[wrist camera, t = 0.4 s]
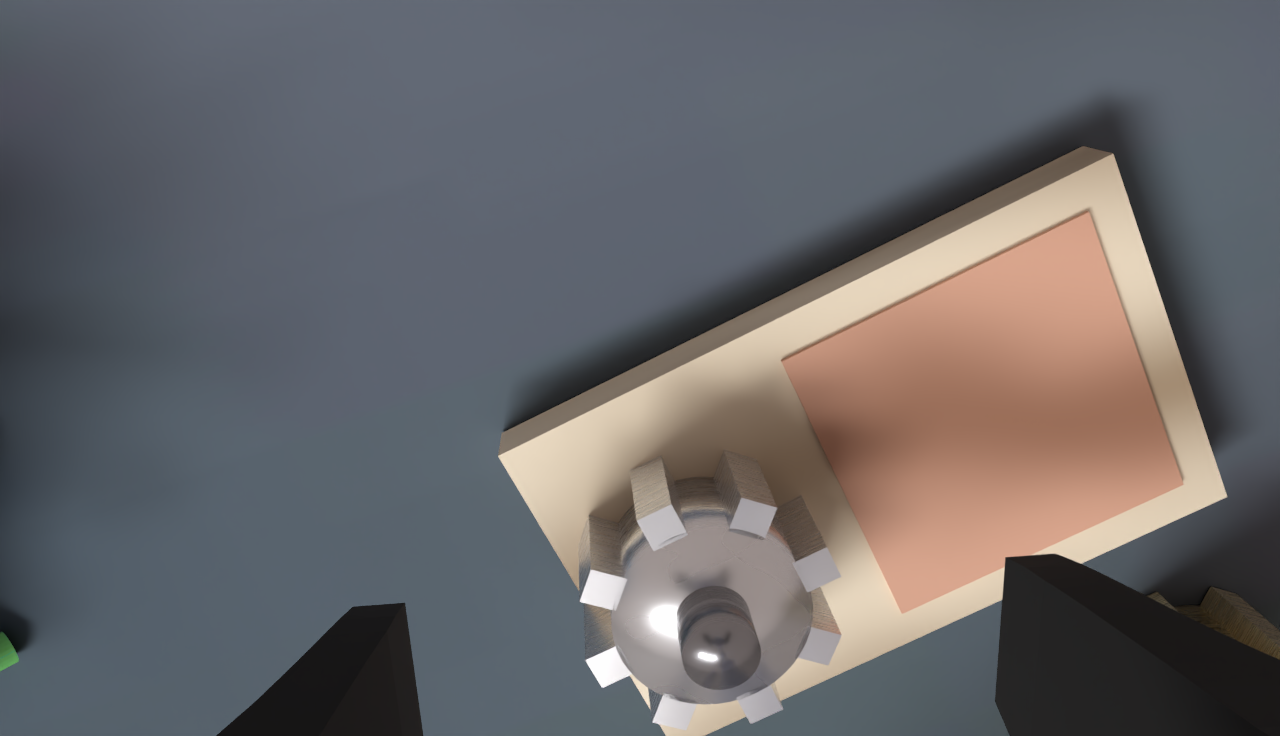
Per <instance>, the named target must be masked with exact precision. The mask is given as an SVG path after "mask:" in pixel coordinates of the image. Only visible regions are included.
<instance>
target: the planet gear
mask: <svg viewBox="0 0 1280 736" xmlns="http://www.w3.org/2000/svg"><path fill="white" fill-rule="evenodd" d="M1147 597H1149V598H1151V599H1153V600H1155V601H1157V602H1159V603H1161V604H1163V605H1165V606H1167V607H1169V608H1171V609H1173V610H1175V611H1177V612H1179V613H1181V614H1183V615H1185V616H1187V617H1189V618H1191V619H1193V620H1195V621H1197V622H1199V623H1201V624H1203V625H1205V626H1207V627H1209V628H1212V629H1214V630H1216V631H1218V632H1220V633H1222V634H1224V635H1226V636H1228V637H1230V638H1233V639H1235V640H1237V641H1239V642H1241V643H1243V644H1245V645H1248V646H1250V647H1252V648H1254V649H1257V650H1259V651H1261V652H1263V653H1266V654H1268V655H1270V656H1272V657H1275V658H1277V659H1279V660H1280V631H1279V630H1278V629H1277V628H1276V627H1275V626H1273V625H1272V624H1271V623H1270V622H1269V621H1268V620H1266V619H1265V618H1264V617H1263V616H1262V615H1261V614H1259V613H1258V612H1257V611H1256V610H1255V609H1254V608H1252V607H1251V606H1250V605H1249V604H1248V603H1247V602H1245V601H1244V600H1243V599H1242V598H1241V597H1240V596H1238V595H1237V594H1236V593H1232V592H1229V591H1225V590H1222V589H1218V588H1215V587H1211V586H1210V588H1209V590H1208V592H1207V594H1206V595H1205V597H1204V599H1203V601H1202V602H1201V604H1200V606H1197V605H1184V606H1176V607H1173V606H1172V605H1171V604H1170V603H1168V602H1167V601H1166V600H1165V599H1164V598H1163V597H1162V596H1161V595H1160V594H1159V593H1158V592H1155V593H1153V594H1150V595H1148V596H1147Z"/></svg>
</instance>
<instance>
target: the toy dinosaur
mask: <svg viewBox="0 0 1280 736" xmlns="http://www.w3.org/2000/svg"><path fill="white" fill-rule="evenodd" d="M18 661H19V659H18V656H17V653H16V651H15V649H14V647H13V646H12V644H11V642H10V641H9V639H8V638H7V636H6V635H5V634H4V633H3V632H0V671H2V670H4V669H5V668H7V667H9V666H11V665H13V664H14V663H16V662H18Z"/></svg>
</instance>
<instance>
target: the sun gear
mask: <svg viewBox="0 0 1280 736" xmlns="http://www.w3.org/2000/svg"><path fill="white" fill-rule="evenodd" d="M630 477H631V485H632V492H633V499H634V504H633V505H632V506H631V507H630V508H629V509H628V510H627V512H626V513H625V514H624V515H623V517H622V518H621V520H620V521H619V523H617V522H614V521H610V520H606V519H603V518H599V517H595V516H592V515H588V518H587V521H586V524H585V527H584V529H583V532H582V535H581V538H580V541H579V544H578V555H579V602H582V603H584V630H585V661H586V662H587V664H588V666H589V667H590V669H591V670H592V672H593V674H594V675H595V677H596V679H597V680H598V682H599V683H600V685H601V687H602V688H603V687H605V686H608V685H610V684H612V683H614V682H616V681H618V680H621V679H623V678H625V677H627V676H629V675H631V674H633V675H634V677H635V678H636V679H637V680H639V681H640V682H641V683H642V684H644V685H645V686H646V687H648V692H649V700H650V708H651V717H652V723H657V724H661V725H665V726H669V727H673V728H678V729H682V730H687V727H688V725H689V722H690V720H691V718H692V715H693V713H694V710H695V708H696V705H697V704H720V703H726V702H732V701H735V700H737V701H738V702H739V704H740V706H741V708H742V709H743V711H744V713H745V715H746V717H747V718H748V720H749V722H750V724H752V723H754V722H756V721H759V720H761V719H763V718H765V717H767V716H769V715H772V714H774V713H776V712H778V711H780V710H783V707H782V704H781V701H780V697H779V694H778V691H777V688H776V685H775V681H776V680H778V679H779V678H780V677H781V676H782V675H783V674H784V673H786V671H787V670H788V669H789V668H790V667H791V666H792V665H793V664H794V662H795V661H796V659H797V658H801V659H805V660H809V661H813V662H816V663H820V664H824V665H829V663H830V661H831V658H832V656H833V654H834V652H835V649H836V647H837V645H838V643H839V641H840V638H841V636H842V634H841V632H840V630H839V628H838V625H837V623H836V621H835V619H834V616H833V614H832V612H831V610H830V607H829V605H828V603H827V601H826V598H825V596H824V594H823V592H822V589H821V587H820V586H823V585H825V584H827V583H829V582H831V581H833V580H835V579H838V578H840V577H841V575H840V573H839V571H838V568H837V566H836V564H835V562H834V560H833V558H832V556H831V554H830V552H829V550H828V548H827V546H826V544H825V542H824V540H823V538H822V536H821V534H820V532H819V530H818V528H817V526H816V524H815V522H814V520H813V518H812V516H811V514H810V512H809V510H808V508H807V506H806V504H805V501H804V499H803V497H802V495H800V496H798V497H796V498H794V499H792V500H790V501H788V502H786V503H784V504H781V505H779V506H776V503H775V501H774V499H773V496H772V494H771V492H770V489H769V487H768V485H767V482H766V480H765V478H764V475H763V473H762V471H761V468H760V466H759V464H758V461H757V459H755V458H752V457H748V456H745V455H741V454H738V453H734V452H731V451H727V450H724V451H723V453H722V456H721V458H720V461H719V464H718V466H717V469H716V471H715V474H714V477H691V478H685V479H680V480H676V481H675V480H674V479H673V477H672V475H671V473H670V471H669V469H668V467H667V466H666V464H665V462H664V460H663V458H662V456H661V455H660V456H658V457H656V458H654V459H652V460H650V461H648V462H646V463H644V464H642V465H640V466H638V467H635V468H633V469H631V470H630Z"/></svg>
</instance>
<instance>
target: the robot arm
mask: <svg viewBox="0 0 1280 736" xmlns="http://www.w3.org/2000/svg"><path fill="white" fill-rule="evenodd" d="M995 702H996V705H997V707H998V709H999V712H1000V714H1001V716H1002V719H1003V721H1004V723H1005V726H1006V728H1007V731H1008V733H1009V735H1010V736H1280V660H1279V659H1277V658H1275V657H1272V656H1270V655H1268V654H1266V653H1263V652H1261V651H1259V650H1257V649H1254V648H1252V647H1250V646H1248V645H1245V644H1243V643H1241V642H1239V641H1237V640H1235V639H1233V638H1230V637H1228V636H1226V635H1224V634H1222V633H1220V632H1218V631H1216V630H1214V629H1212V628H1209V627H1207V626H1205V625H1203V624H1201V623H1199V622H1197V621H1195V620H1193V619H1191V618H1189V617H1187V616H1185V615H1183V614H1181V613H1179V612H1177V611H1175V610H1173V609H1171V608H1169V607H1167V606H1165V605H1163V604H1161V603H1159V602H1157V601H1155V600H1153V599H1151V598H1149V597H1147V596H1145V595H1143V594H1141V593H1139V592H1137V591H1135V590H1133V589H1131V588H1129V587H1127V586H1125V585H1123V584H1121V583H1119V582H1117V581H1115V580H1113V579H1111V578H1109V577H1107V576H1105V575H1103V574H1101V573H1099V572H1097V571H1095V570H1093V569H1091V568H1089V567H1086V566H1084V565H1082V564H1080V563H1078V562H1075V561H1073V560H1071V559H1068V558H1066V557H1063V556H1060V555H1058V554H1055V553H1054V554H1041V555H1028V556H1015V557H1005V570H1004V584H1003V598H1002V612H1001V626H1000V640H999V654H998V668H997V682H996V696H995ZM217 736H423V731H422V724H421V716H420V709H419V702H418V695H417V687H416V680H415V673H414V666H413V658H412V651H411V644H410V636H409V629H408V622H407V615H406V607H405V603H397V604H384V605H371V606H358V607H352V608H351V609H350V610H349V611H348V612H347V613H346V614H344V615H343V616H342V617H341V618H340V619H339V620H338V621H337V622H336V623H335V624H334V625H333V626H332V627H331V628H330V629H329V630H328V631H327V632H326V633H325V634H324V635H323V636H322V637H321V638H320V639H319V640H318V641H317V642H316V643H315V644H314V645H313V646H312V647H311V648H310V649H309V650H308V651H307V652H306V653H305V654H304V655H303V656H302V657H301V658H300V659H299V660H298V661H297V662H296V663H295V664H294V665H293V666H292V667H291V668H290V669H289V670H288V671H287V672H286V673H285V674H284V675H283V676H282V677H281V678H280V679H279V680H277V681H276V682H275V683H274V684H273V685H272V686H271V687H270V688H269V689H268V690H267V691H266V692H265V693H264V694H263V695H262V696H261V697H260V698H259V699H258V700H257V701H256V702H254V703H253V704H252V705H251V706H250V707H249V708H248V709H246V710H245V711H244V712H243V713H242V714H241V715H240V716H238V717H237V718H236V719H235V720H234V721H233V722H231V723H230V724H229V725H228V726H227V727H226V728H225V729H223V730H222V731H221V732H220V733H219V734H218V735H217Z"/></svg>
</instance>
